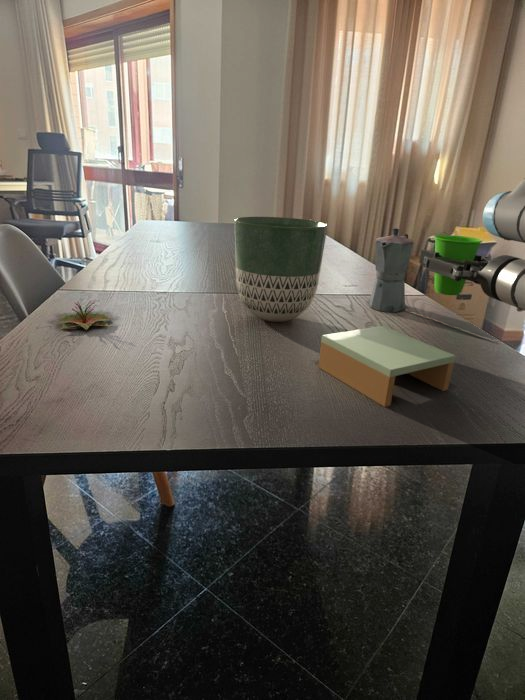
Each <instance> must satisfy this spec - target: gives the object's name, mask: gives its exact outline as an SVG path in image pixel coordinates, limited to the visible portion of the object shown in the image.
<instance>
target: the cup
mask: <svg viewBox="0 0 525 700" xmlns="http://www.w3.org/2000/svg"><path fill="white" fill-rule="evenodd" d="M433 238H434V239H435V240H434V241H435V242H434V252H438V253H439V255H441V257H443V258H448V259H453V260H458V261H463V262H464V261H466V260H474V258H475V255H477V252H478V250H479V247H480V245H481V243H483V239H481V238H477V237H471V236H466V235H465V236H463V235H455V234H454V235H453V234H436V235H434V236H433ZM471 266H472V264H471ZM466 281H467V280H465V279H462V278H461V281H456V280H454V279H452V278H450V277H447V276H444V275H440V274H437V273H434V288H433V289H434V292H435V293H437V294H441V295H445V296H459V295H461V293H463V290H464V287H465V284H466Z"/></svg>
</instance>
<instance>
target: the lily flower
mask: <svg viewBox="0 0 525 700" xmlns="http://www.w3.org/2000/svg"><path fill="white" fill-rule="evenodd" d="M91 302H92V300H90V301H88V303H87V305H86V307H85V309H84V311H83V309H82V305H81V304H80V302H79V301H76V302H74V305H75V306H74V307H75V308H71V310H72V311H74V312H75V314H66V315H64V314H62V315H61V318H60V319H58V320H57V321H54V322H53V323H62V322H64V323H63V324H62V325H61V327H60V329H61V330H63V329H67V328H72V327H75V328H76V327H82V328H83V329H84V330H86V331H87V330H88V329H89V328H90V327H92V326H101V327H109V324H108V322H107V320H111V321H112V320H115V319H114V318H111V317H109V316H106V315H107V313H93V312H92V311H94V310H95V309H94V308H92V306H93V305H95V304H96V302H92V303H91ZM90 303H91V304H90ZM105 320H106V321H105Z"/></svg>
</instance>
